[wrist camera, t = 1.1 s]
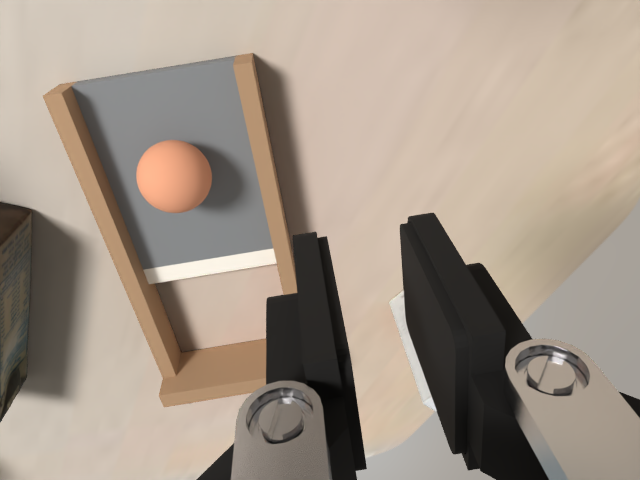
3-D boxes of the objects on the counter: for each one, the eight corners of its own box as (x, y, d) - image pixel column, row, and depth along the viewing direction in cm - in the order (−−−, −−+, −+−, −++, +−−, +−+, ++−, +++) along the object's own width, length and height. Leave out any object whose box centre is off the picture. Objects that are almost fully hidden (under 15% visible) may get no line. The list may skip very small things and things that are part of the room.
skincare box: (386, 301, 47) (420, 403, 36) (420, 272, 45) (465, 370, 35) (428, 332, 49) (471, 436, 39) (462, 305, 48) (515, 406, 37)
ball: (135, 135, 35) (117, 162, 31) (205, 124, 35) (196, 149, 31) (157, 198, 38) (142, 231, 34) (222, 188, 38) (216, 219, 34)
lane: (59, 84, 34) (29, 104, 30) (253, 53, 34) (250, 69, 30) (173, 365, 48) (164, 407, 44) (310, 343, 48) (314, 382, 44)
